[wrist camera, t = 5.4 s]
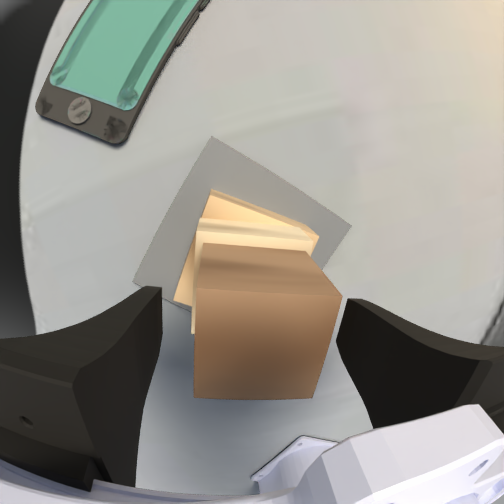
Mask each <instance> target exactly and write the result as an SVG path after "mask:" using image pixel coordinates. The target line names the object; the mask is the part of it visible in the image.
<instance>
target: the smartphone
mask: <svg viewBox="0 0 504 504" xmlns="http://www.w3.org/2000/svg"><path fill="white" fill-rule="evenodd" d="M209 1H210V0H90V2H89V3H88V5H87V6H86V8H85V9H84V11H83V13H82V14H81V16H80V17H79V19H78V20H77V22H76V24H75V25H74V27H73V29H72V30H71V32H70V34H69V36H68V37H67V39H66V41H65V43H64V45H63V46H62V48H61V50H60V52H59V54H58V56H57V58H56V60H55V62H54V64H53V66H52V68H51V70H50V72H49V74H48V76H47V78H46V81H45V83H44V85H43V87H42V90H41V92H40V94H39V97H38V99H37V102H36V106H35V108H36V112H37V113H38V114H39V115H42V116H45V117H47V118H50V119H53V120H55V121H58V122H60V123H63V124H66V125H68V126H71V127H73V128H76V129H78V130H81V131H83V132H86V133H88V134H91V135H93V136H96V137H98V138H101V139H103V140H105V141H108V142H110V143H122V142H124V141H125V140H126V139H127V138H128V136H129V134H130V131H131V129H132V127H133V125H134V123H135V121H136V119H137V117H138V114H139V112H140V110H141V108H142V106H143V104H144V102H145V100H146V98H147V96H148V95H149V93H150V91H151V89H152V87H153V85H154V83H155V81H156V79H157V78H158V76H159V74H160V72H161V70H162V69H163V67H164V65H165V63H166V62H167V60H168V58H169V57H170V55H171V53H172V52H173V50H174V48H175V47H176V45H179V44H181V43H182V41H183V39H184V38H185V36H186V35H187V33H188V31H189V30H190V28H191V27H192V25H193V24H194V22H195V21H196V19H197V18H198V16H199V10H202V9H204V8H205V6H206V5H207V4H208V2H209Z"/></svg>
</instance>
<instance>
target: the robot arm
mask: <svg viewBox="0 0 504 504" xmlns="http://www.w3.org/2000/svg"><path fill="white" fill-rule="evenodd" d="M162 334H163V330H162V287H156V286H144V287H143V288H141V289H139V290H138V291H136V292H135V293H133V294H132V295H130V296H129V297H127V298H126V299H124V300H123V301H121V302H120V303H118V304H116V305H115V306H113V307H111V308H109V309H108V310H106V311H104V312H102V313H101V314H99V315H97V316H95V317H93V318H90V319H88V320H86V321H83V322H81V323H78V324H76V325H73V326H69V327H66V328H63V329H60V330H57V331H53V332H49V333H44V334H39V335H34V336H27V337H18V338H6V339H0V504H491V503H492V502H494V501H495V500H497V499H498V498H499V497H500V496H502V495H503V494H504V347H497V346H486V345H480V344H474V343H469V342H464V341H461V340H457V339H453V338H449V337H446V336H443V335H440V334H438V333H435V332H432V331H429V330H427V329H425V328H422V327H420V326H418V325H416V324H413V323H411V322H409V321H407V320H405V319H403V318H401V317H399V316H397V315H395V314H393V313H391V312H389V311H387V310H385V309H383V308H381V307H379V306H377V305H375V304H373V303H371V302H369V301H366V300H363V299H349V298H348V299H347V303H346V307H345V310H344V314H343V318H342V321H341V325H340V328H339V332H338V335H337V338H336V343H337V347H338V350H339V353H340V356H341V359H342V361H343V363H344V365H345V367H346V369H347V371H348V373H349V375H350V377H351V379H352V381H353V382H354V384H355V386H356V388H357V390H358V392H359V394H360V396H361V398H362V400H363V402H364V404H365V406H366V409H367V412H368V415H369V417H370V420H371V423H372V426H373V430H370V431H367V432H364V433H361V434H357V435H354V436H351V437H348V438H346V439H345V440H343V441H341V442H339V443H337V442H332V441H326V440H321V439H316V438H311V437H306V436H301V437H299V438H298V439H297V440H296V441H295V442H293V443H292V444H291V445H290V446H289V447H288V448H287V449H285V450H284V451H283V452H282V453H281V454H279V455H278V456H277V457H276V458H275V459H273V460H272V461H271V462H270V463H268V464H267V465H266V466H265V467H263V468H262V469H261V470H260V471H258V472H257V473H256V474H254V475H253V476H252V477H251V479H252V480H253V481H257V482H258V483H259V490H260V494H257V495H236V496H224V495H196V494H182V493H171V492H162V491H154V490H147V489H140V488H135V484H136V467H137V455H138V445H139V436H140V428H141V421H142V415H143V408H144V404H145V400H146V396H147V393H148V389H149V386H150V383H151V380H152V376H153V373H154V370H155V367H156V363H157V360H158V357H159V352H160V346H161V340H162Z"/></svg>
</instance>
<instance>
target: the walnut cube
mask: <svg viewBox="0 0 504 504" xmlns="http://www.w3.org/2000/svg"><path fill="white" fill-rule="evenodd" d="M341 300H342V295H341V294H340V292H339V291H338V290H337V289H336V287H335V286H334V285H333V284H332V282H331V281H330V280H329V279H328V278H327V276H326V275H325V274H324V273H323V271H322V270H321V269H320V268H319V267H318V265H317V264H316V263H315V262H314V261H313V259H312V258H311V257H310V256H309V255H308V253H307V252H306V251H300V250H288V249H276V248H264V247H252V246H240V245H227V244H215V243H203V248H202V254H201V261H200V268H199V275H198V282H197V291H196V313H195V341H194V398H208V399H232V400H282V399H306V398H312V397H313V394H314V391H315V388H316V385H317V382H318V379H319V376H320V373H321V370H322V367H323V364H324V360H325V357H326V354H327V351H328V347H329V344H330V340H331V337H332V334H333V330H334V326H335V323H336V319H337V315H338V312H339V308H340V304H341Z"/></svg>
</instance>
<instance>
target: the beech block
mask: <svg viewBox="0 0 504 504" xmlns="http://www.w3.org/2000/svg"><path fill="white" fill-rule="evenodd" d="M203 243H215V244H227V245H240V246H252V247H264V248H276V249H288V250H300V251H306V252H307V253H308V255H309V256H310V257H311V252H312V246H313V240H312V239H311V238H310V237H309V236H308V235H307V234H306V233H305V232H304V231H303V230H301V229H300V228H299V227H292V226H283V225H273V224H262V223H252V222H241V221H230V220H219V219H207V218H200V219H199V223H198V227H197V231H196V244H195V260H194V277H193V297H192V323H191V334H195V313H196V291H197V282H198V275H199V268H200V261H201V254H202V248H203Z"/></svg>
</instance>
